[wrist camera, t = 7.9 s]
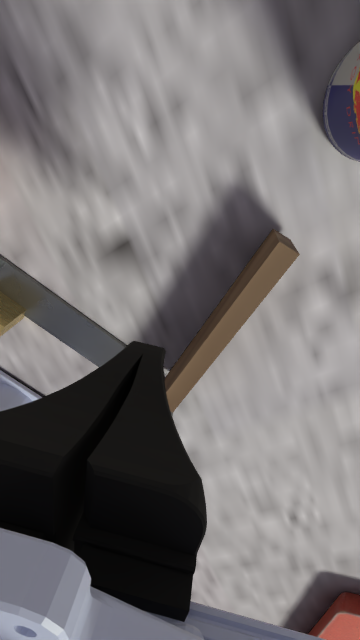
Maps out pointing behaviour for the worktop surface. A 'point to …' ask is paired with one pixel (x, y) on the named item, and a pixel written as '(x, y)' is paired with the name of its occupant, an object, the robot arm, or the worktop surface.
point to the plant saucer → (340, 619)
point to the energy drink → (344, 106)
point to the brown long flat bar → (230, 314)
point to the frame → (52, 316)
